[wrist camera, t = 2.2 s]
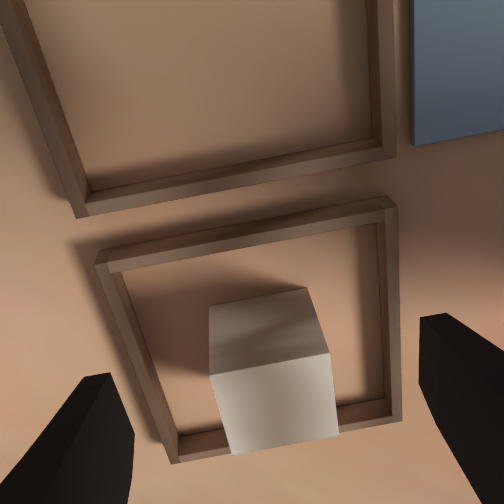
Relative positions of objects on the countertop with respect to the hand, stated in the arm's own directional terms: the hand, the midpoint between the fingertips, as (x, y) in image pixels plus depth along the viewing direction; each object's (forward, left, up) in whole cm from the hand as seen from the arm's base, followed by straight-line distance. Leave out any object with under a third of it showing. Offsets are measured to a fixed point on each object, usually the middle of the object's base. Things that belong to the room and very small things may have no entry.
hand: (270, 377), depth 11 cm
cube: (0, +6, -10) cm, 11 cm away
